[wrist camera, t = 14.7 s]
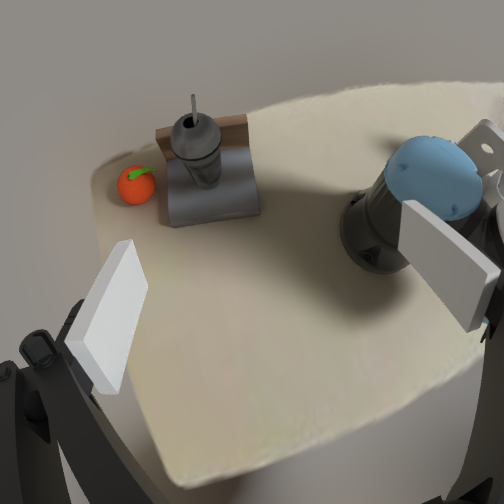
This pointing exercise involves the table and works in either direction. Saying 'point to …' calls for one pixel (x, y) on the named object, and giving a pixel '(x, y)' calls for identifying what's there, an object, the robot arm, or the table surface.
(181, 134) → the beverage cup
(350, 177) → the table surface
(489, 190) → the phone holder
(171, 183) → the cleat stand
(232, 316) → the table surface
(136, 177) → the clementine
